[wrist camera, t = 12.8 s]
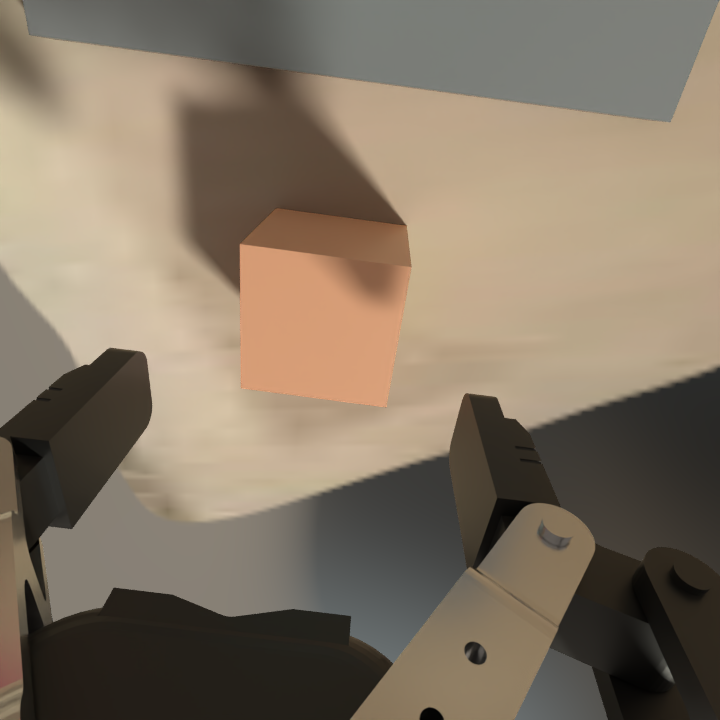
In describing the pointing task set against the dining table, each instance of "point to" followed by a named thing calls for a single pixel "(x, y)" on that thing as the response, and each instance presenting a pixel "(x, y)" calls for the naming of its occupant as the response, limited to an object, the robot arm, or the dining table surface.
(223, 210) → the dining table surface
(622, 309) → the dining table surface
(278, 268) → the orange cube
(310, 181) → the dining table surface
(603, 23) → the plate
